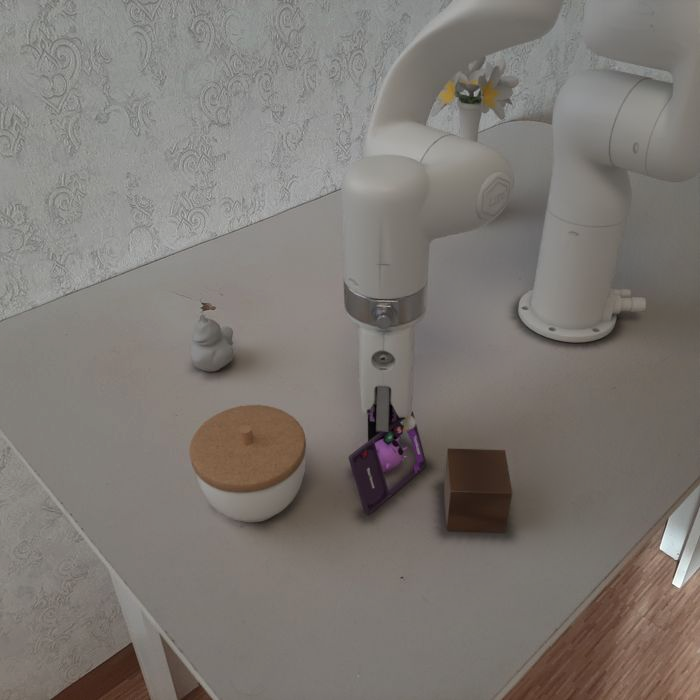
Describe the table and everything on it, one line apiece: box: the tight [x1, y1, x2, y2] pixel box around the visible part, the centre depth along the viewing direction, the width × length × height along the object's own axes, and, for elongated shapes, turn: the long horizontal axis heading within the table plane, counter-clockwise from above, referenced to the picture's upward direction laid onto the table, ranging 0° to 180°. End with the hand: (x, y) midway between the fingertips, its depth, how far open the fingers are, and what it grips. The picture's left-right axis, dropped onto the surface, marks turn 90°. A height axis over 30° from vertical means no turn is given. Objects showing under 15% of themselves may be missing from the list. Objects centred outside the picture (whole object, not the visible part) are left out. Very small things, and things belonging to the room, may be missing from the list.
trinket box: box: [189, 404, 307, 524], centre depth 68 cm, size 11×11×9 cm
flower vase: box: [430, 56, 520, 143], centre depth 114 cm, size 13×18×25 cm
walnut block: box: [443, 447, 513, 534], centre depth 68 cm, size 6×6×6 cm
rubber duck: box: [189, 313, 234, 372], centre depth 86 cm, size 5×7×8 cm
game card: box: [348, 410, 427, 515], centre depth 72 cm, size 7×5×9 cm
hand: (383, 440), depth 76 cm, fingers closed
